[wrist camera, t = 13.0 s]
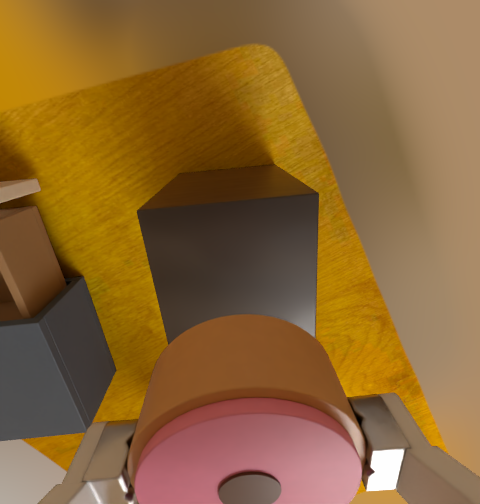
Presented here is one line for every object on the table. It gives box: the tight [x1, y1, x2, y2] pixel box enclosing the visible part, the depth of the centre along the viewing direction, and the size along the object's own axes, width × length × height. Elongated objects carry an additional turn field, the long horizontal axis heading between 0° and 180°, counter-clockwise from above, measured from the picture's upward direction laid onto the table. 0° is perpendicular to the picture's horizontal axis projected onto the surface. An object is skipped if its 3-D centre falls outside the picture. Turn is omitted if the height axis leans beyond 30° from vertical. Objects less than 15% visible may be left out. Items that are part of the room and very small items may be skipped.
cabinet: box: [0, 277, 116, 441], centre depth 32 cm, size 15×12×9 cm
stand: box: [137, 164, 319, 344], centre depth 24 cm, size 10×10×15 cm
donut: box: [127, 314, 366, 504], centre depth 9 cm, size 6×6×3 cm
